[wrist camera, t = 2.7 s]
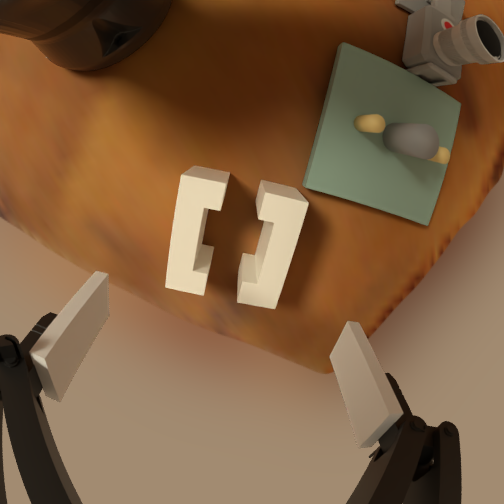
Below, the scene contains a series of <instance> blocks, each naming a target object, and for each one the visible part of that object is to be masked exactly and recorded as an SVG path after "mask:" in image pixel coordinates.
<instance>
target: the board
mask: <svg viewBox="0 0 504 504" xmlns="http://www.w3.org/2000/svg"><path fill="white" fill-rule="evenodd" d="M460 108H461V103H459V102H458V101H457V100H455V99H454V98H452V97H451V96H449V95H447V94H446V93H444V92H443V91H441V90H440V89H438V88H436V87H435V86H433V85H431V84H430V83H428V82H426V81H425V80H423V79H421V78H419V77H418V76H416V75H414V74H412V73H410V72H408V71H407V70H405V69H403V68H401V67H399V66H397V65H395V64H393V63H391V62H389V61H387V60H385V59H382V58H380V57H378V56H376V55H374V54H371V53H369V52H367V51H364V50H362V49H360V48H357V47H355V46H352V45H350V44H347V43H345V42H342V43H341V44H340V45H339V46H338V49H337V54H336V58H335V62H334V66H333V70H332V74H331V78H330V82H329V86H328V90H327V94H326V98H325V102H324V106H323V110H322V114H321V117H320V121H319V125H318V129H317V133H316V136H315V140H314V144H313V147H312V151H311V155H310V158H309V162H308V166H307V169H306V173H305V176H304V180H303V184H302V185H303V186H304V187H305V188H309V189H313V190H316V191H320V192H323V193H327V194H331V195H334V196H337V197H341V198H344V199H348V200H351V201H354V202H358V203H361V204H364V205H367V206H370V207H373V208H377V209H380V210H383V211H386V212H389V213H392V214H395V215H398V216H401V217H404V218H406V219H409V220H412V221H415V222H418V223H421V224H423V225H426V226H428V224H429V221H430V219H431V216H432V213H433V210H434V207H435V204H436V201H437V198H438V195H439V192H440V189H441V186H442V182H443V179H444V176H445V172H446V169H447V165H448V162H449V160H450V154H451V150H452V146H453V142H454V137H455V133H456V128H457V123H458V119H459V113H460Z"/></svg>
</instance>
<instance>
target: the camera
mask: <svg viewBox="0 0 504 504" xmlns="http://www.w3.org/2000/svg"><path fill="white" fill-rule="evenodd" d="M395 5H397V6H399V7H401V8H403V9H405V10H407V11H408V12H410V13H412V14H411V15H409V16H408V23H407V30H406V38H405V44H404V51H403V57H402V61H403V63H404V65H405V66H406V67H407V68H409V69H406V70H407V71H408V72H410V73H412V74H414V75H416V76H418V77H419V78H421V79H423V80H425V81H426V82H428V83H430V84H431V85H433V86H442V85H450V84H456V83H457V80H459V79H461V70H462V65H464V64H470V63H476V62H477V63H479V64H491V63H500V62H504V36H503V34H502V32H501V30H500V29H499V28H498V26H497V25H496V24H495V23H494V22H493V20H491V19H490V18H489V17H487V16H485V15H482V14H479V15H476V16H473V17H470V18H467V19H464V20H462V21H461V19H462V15H463V10H464V5H465V1H464V0H396V1H395Z"/></svg>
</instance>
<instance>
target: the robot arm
mask: <svg viewBox="0 0 504 504" xmlns="http://www.w3.org/2000/svg"><path fill="white" fill-rule="evenodd" d="M171 1H172V0H0V33H2V34H7V35H11V36H16V37H20V38H24V39H28V40H31V41H32V42H33V43H34V44H35V45H36V46H37V47H38V48H39V50H40V51H41V52H42V53H43V54H44V55H45V56H46V57H47V58H48V59H49V60H50V61H51V62H53V63H54V64H56V65H58V66H60V67H63V68H67V69H71V70H76V71H93V70H98V69H102V68H105V67H108V66H110V65H113V64H115V63H117V62H119V61H121V60H122V59H124V58H126V57H127V56H129V55H130V54H132V53H133V52H134V51H136V50H137V49H138V48H140V47H141V46H142V45H143V44H144V43H145V42H146V41H147V40H148V39H149V38H150V37H151V36H152V35H153V34H154V33H155V31H156V30H157V29H158V27H159V26H160V25H161V23H162V22H163V20H164V18H165V16H166V14H167V12H168V10H169V8H170V5H171ZM108 289H109V288H108V274H106V273H102V272H98V271H95V272H94V274H93V275H92V276H91V277H90V278H89V279H88V280H87V281H86V282H85V284H84V285H83V286H82V287H81V288H80V289H79V290H78V292H77V293H76V294H75V295H74V296H73V297H72V299H71V300H70V301H69V302H68V303H67V304H66V306H65V307H64V308H63V309H62V311H61V312H60V313H59V314H58V315H57V314H54V313H51V312H50V313H48V314H47V315H45V316H43V317H42V318H41V319H40V320H39V321H38V322H37V324H36V325H35V326H34V327H33V329H32V331H30V332H29V334H28V335H27V336H26V337H25V338H24V340H23V341H22V342H21V343H20V344H19V341H18V339H17V338H16V337H15V336H12V335H2V336H0V504H7V499H6V492H5V483H4V472H3V458H2V457H3V456H2V419H3V408H4V413H5V418H6V423H7V428H8V432H9V437H10V441H11V445H12V448H13V452H14V456H15V459H16V462H17V465H18V469H19V472H20V475H21V477H22V480H23V483H24V486H25V489H26V491H27V494H28V496H29V499H30V501H31V504H82V502H81V500H80V498H79V496H78V494H77V492H76V490H75V488H74V486H73V484H72V482H71V480H70V478H69V475H68V473H67V471H66V469H65V467H64V464H63V462H62V459H61V457H60V455H59V452H58V450H57V447H56V444H55V442H54V439H53V436H52V433H51V430H50V427H49V424H48V421H47V418H46V415H45V412H44V408H43V405H42V401H41V397H40V396H39V394H40V392H41V390H42V388H43V390H44V392H45V395H46V396H47V397H49V398H51V399H54V400H56V401H58V402H61V400H62V398H63V396H64V394H65V392H66V390H67V388H68V386H69V384H70V383H71V381H72V379H73V377H74V375H75V373H76V372H77V370H78V368H79V366H80V364H81V363H82V361H83V359H84V357H85V356H86V354H87V352H88V350H89V349H90V347H91V345H92V344H93V342H94V340H95V339H96V337H97V335H98V334H99V332H100V330H101V329H102V327H103V325H104V324H105V322H106V320H107V319H108V317H109V290H108ZM329 357H330V360H331V363H332V366H333V369H334V372H335V375H336V378H337V381H338V384H339V387H340V391H341V394H342V397H343V400H344V403H345V406H346V410H347V412H348V416H349V419H350V422H351V426H352V429H353V433H354V436H355V439H356V443H357V446H358V448H365V447H372V446H373V445H374V444H375V443H376V442H377V441H379V444H380V446H379V447H378V448H377V449H376V450H375V451H374V452H373V453H372V454H371V455H370V456H369V458H371V457H372V456H373V455H374V456H373V458H372V460H371V461H370V463H369V465H368V467H367V469H366V471H365V473H364V475H363V476H362V478H361V480H360V481H359V483H358V485H357V487H356V488H355V490H354V492H353V493H352V495H351V497H350V498H349V500H348V501H347V503H346V504H402V503H403V504H461V454H460V441H459V433H458V429H457V428H456V426H455V425H454V424H453V423H451V422H447V421H445V422H442V423H441V424H440V425H439V426H438V427H432V426H427V425H426V423H425V422H424V420H423V419H421V418H420V417H417V416H413V415H412V413H411V410H410V408H409V406H408V404H407V402H406V400H405V398H404V396H403V395H402V392H401V390H400V389H399V386H398V384H397V382H396V380H395V379H394V378H393V377H392V376H391V375H390V374H389V373H384V371H383V369H382V367H381V365H380V363H379V361H378V359H377V357H376V355H375V353H374V351H373V349H372V347H371V345H370V343H369V341H368V339H367V337H366V335H365V333H364V331H363V329H362V327H361V325H360V324H359V322H352V321H347V323H346V325H345V327H344V329H343V331H342V333H341V335H340V337H339V339H338V341H337V343H336V345H335V347H334V349H333V351H332V352H331V354H330V356H329ZM433 460H434V462H433Z"/></svg>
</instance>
